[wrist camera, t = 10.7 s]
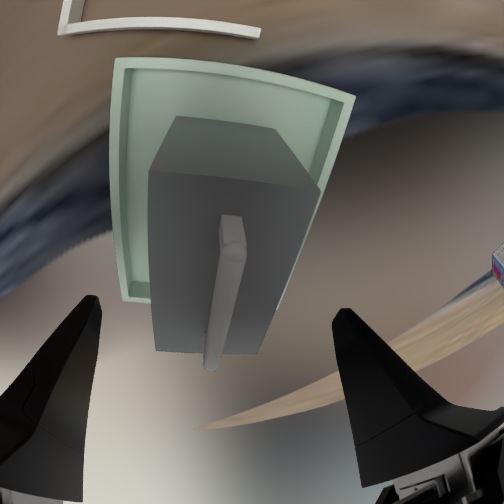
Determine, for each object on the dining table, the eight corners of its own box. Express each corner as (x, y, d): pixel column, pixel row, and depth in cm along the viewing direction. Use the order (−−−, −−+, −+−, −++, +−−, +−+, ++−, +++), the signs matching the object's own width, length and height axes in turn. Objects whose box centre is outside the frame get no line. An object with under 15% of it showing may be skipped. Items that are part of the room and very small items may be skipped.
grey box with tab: (166, 256, 18) (153, 382, 11) (176, 115, 12) (134, 202, 6) (242, 261, 19) (262, 384, 12) (274, 128, 14) (343, 224, 7)
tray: (127, 280, 19) (122, 300, 18) (127, 56, 10) (115, 57, 9) (272, 289, 22) (277, 309, 20) (339, 89, 13) (355, 96, 11)
